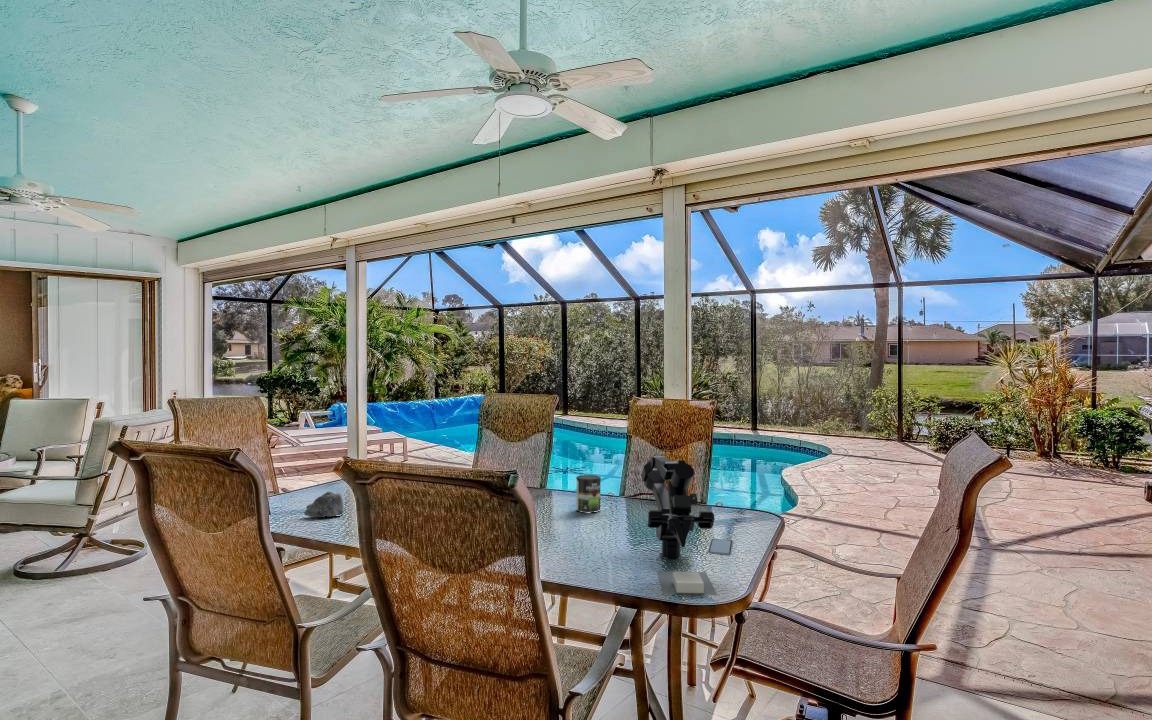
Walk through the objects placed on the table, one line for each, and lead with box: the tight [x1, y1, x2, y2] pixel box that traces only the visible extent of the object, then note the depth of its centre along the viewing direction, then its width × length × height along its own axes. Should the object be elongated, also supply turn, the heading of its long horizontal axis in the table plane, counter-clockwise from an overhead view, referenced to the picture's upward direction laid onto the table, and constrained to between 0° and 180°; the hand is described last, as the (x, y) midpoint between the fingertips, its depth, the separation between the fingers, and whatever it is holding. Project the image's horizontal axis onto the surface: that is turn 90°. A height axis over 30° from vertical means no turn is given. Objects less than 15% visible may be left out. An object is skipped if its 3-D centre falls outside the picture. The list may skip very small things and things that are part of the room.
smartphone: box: [707, 538, 734, 556], centre depth 192 cm, size 7×1×15 cm
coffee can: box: [575, 474, 602, 512], centre depth 242 cm, size 10×10×14 cm
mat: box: [656, 570, 718, 596], centre depth 158 cm, size 16×14×1 cm
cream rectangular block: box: [672, 571, 704, 595], centre depth 153 cm, size 3×7×8 cm
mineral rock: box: [303, 491, 344, 518], centre depth 231 cm, size 13×11×10 cm
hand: (683, 546), depth 161 cm, fingers closed
